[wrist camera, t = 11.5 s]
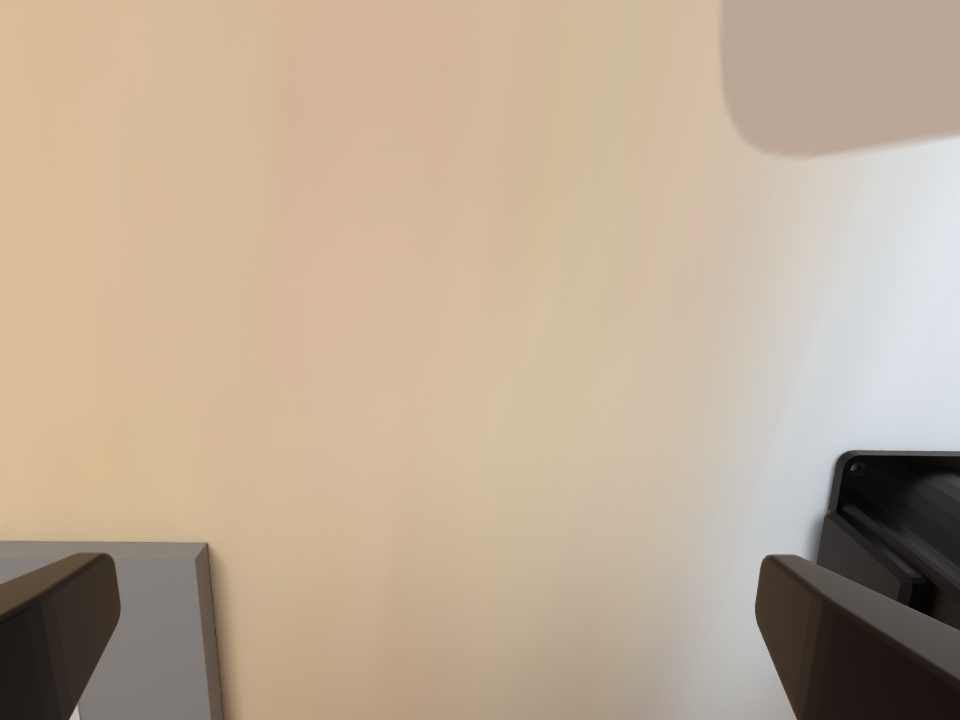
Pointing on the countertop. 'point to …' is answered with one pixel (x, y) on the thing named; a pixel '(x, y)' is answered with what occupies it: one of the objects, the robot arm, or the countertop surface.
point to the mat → (145, 630)
